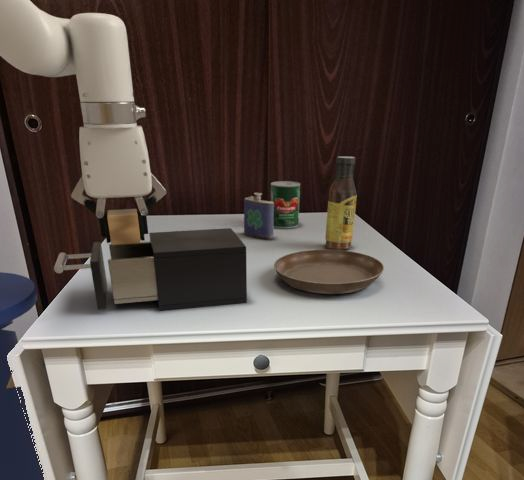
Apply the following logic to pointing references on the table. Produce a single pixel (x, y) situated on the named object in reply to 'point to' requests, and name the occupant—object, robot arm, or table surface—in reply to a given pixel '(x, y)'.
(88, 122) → the robot arm
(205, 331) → the table surface
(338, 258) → the plant saucer
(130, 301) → the drawer
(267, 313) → the table surface
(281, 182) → the canned tomato
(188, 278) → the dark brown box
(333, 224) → the sauce bottle
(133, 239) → the block
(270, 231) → the flask
